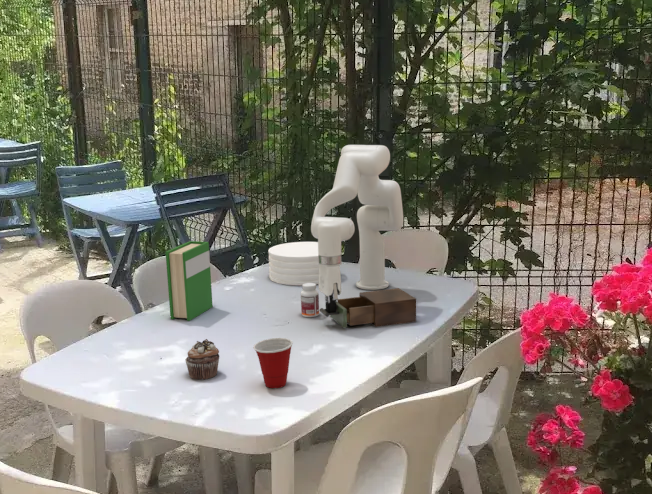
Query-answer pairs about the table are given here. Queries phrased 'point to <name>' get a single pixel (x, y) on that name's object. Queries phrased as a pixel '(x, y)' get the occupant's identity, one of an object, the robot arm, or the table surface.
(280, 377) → the plastic cup
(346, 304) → the drawer
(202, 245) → the hardback book
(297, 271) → the plate stack
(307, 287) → the pill bottle
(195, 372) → the cupcake
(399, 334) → the table surface
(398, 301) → the cabinet
